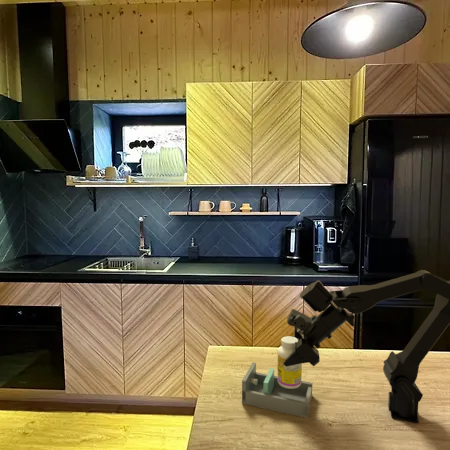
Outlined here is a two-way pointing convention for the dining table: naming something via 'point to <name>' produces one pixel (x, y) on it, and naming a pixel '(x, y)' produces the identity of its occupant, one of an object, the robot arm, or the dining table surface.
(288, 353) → the supplement bottle
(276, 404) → the tray
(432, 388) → the dining table surface
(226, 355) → the dining table surface
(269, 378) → the pusher plate
